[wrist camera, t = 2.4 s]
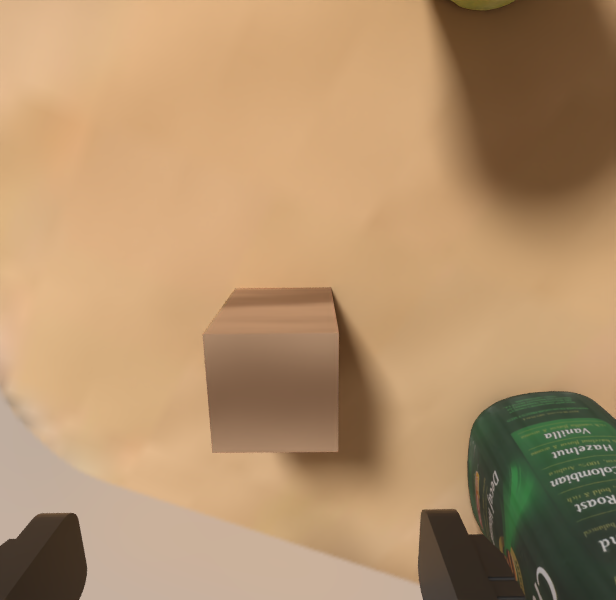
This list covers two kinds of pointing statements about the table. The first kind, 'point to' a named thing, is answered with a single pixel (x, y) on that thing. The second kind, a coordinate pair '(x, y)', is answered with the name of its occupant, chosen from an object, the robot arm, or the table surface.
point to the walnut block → (273, 371)
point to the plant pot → (482, 4)
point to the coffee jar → (548, 492)
